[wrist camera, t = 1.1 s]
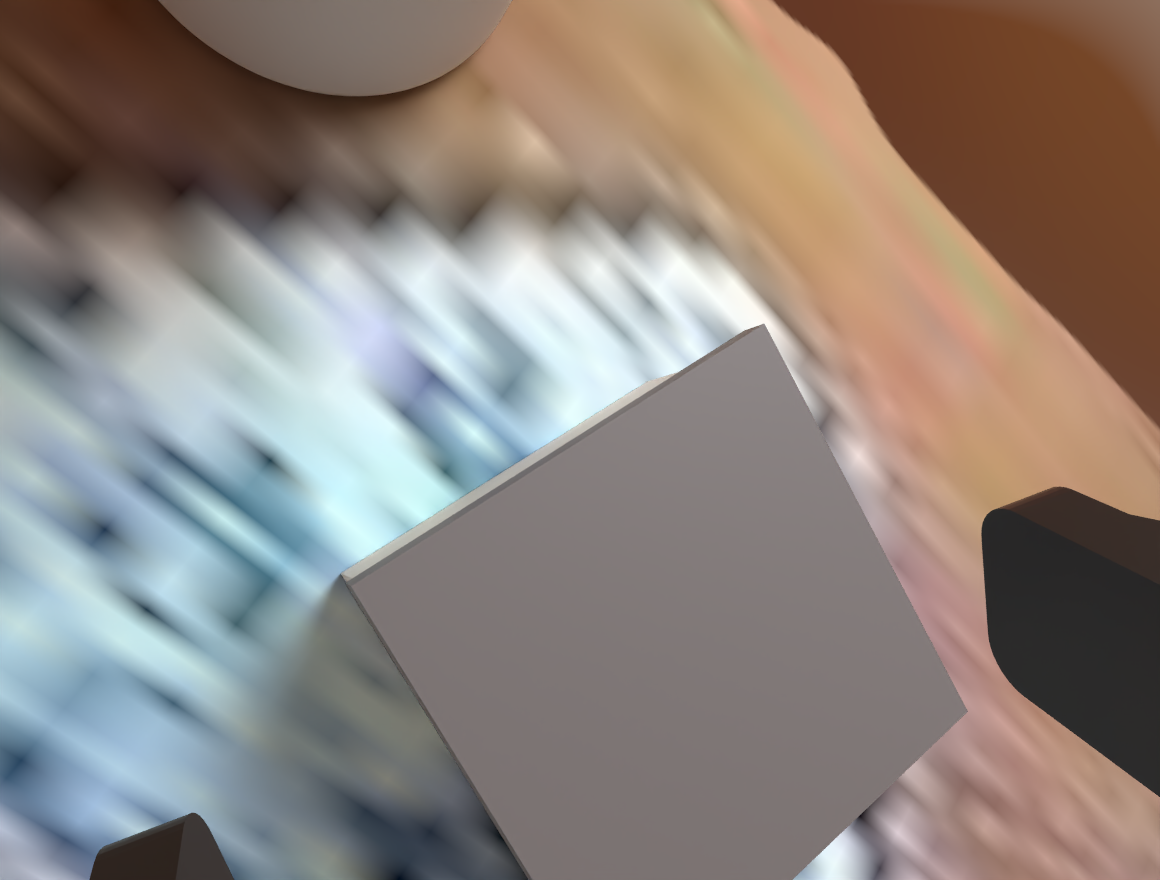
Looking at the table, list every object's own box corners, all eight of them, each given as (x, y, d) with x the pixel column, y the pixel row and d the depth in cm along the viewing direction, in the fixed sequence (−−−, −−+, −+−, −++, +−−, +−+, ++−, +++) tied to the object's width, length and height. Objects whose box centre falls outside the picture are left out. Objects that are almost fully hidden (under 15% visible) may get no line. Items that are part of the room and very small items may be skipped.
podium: (317, 568, 27) (351, 586, 20) (650, 362, 32) (764, 324, 25) (534, 917, 29) (628, 1035, 22) (820, 673, 33) (967, 711, 27)
